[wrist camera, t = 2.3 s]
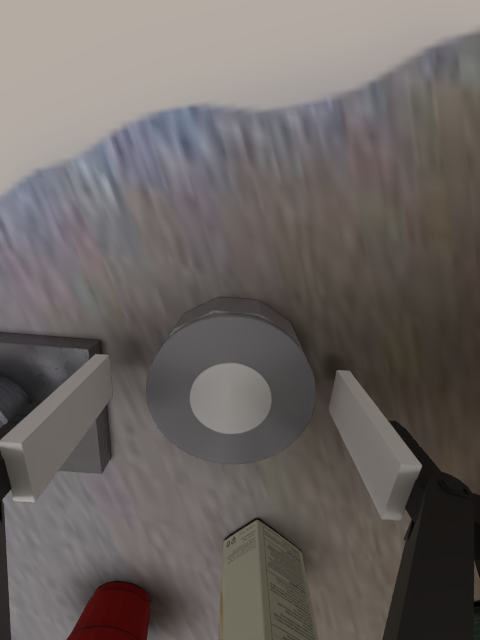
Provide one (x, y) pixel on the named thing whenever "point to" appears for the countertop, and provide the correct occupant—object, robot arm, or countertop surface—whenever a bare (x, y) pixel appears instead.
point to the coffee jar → (476, 623)
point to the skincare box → (264, 588)
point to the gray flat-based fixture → (51, 387)
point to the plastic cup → (114, 614)
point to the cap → (231, 383)
